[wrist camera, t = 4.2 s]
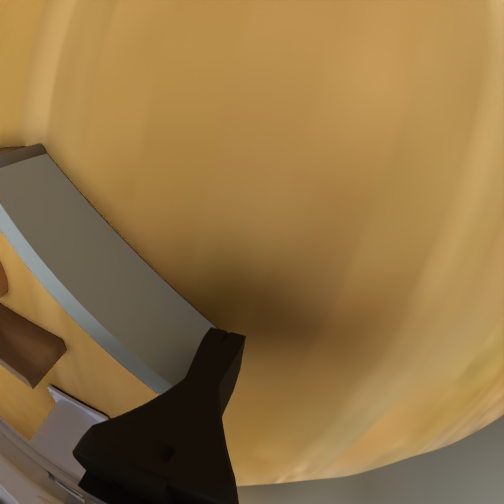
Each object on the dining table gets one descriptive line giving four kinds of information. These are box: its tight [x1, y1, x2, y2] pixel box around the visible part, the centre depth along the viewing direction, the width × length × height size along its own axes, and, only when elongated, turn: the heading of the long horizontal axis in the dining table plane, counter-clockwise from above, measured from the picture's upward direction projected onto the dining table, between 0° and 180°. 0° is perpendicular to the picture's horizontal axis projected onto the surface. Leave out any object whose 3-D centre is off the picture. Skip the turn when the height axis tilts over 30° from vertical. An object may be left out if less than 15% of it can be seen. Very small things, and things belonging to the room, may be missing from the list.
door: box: [0, 144, 217, 395], centre depth 11 cm, size 14×1×5 cm, turn 46°
